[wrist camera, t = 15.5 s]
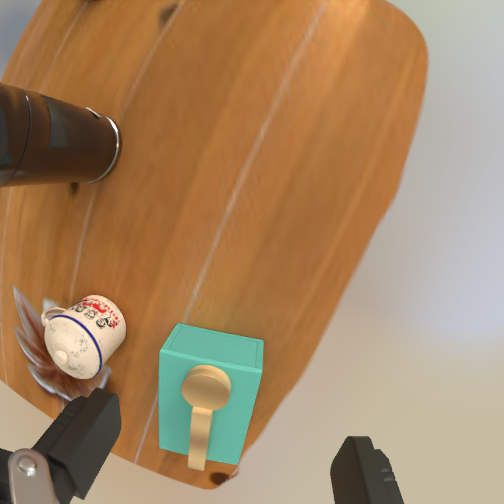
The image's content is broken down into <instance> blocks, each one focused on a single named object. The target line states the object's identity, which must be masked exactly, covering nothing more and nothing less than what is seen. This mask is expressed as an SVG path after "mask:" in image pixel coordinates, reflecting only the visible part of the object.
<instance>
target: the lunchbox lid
mask: <svg viewBox="0 0 504 504" xmlns="http://www.w3.org/2000/svg"><path fill="white" fill-rule="evenodd" d="M198 365H211V366H214V367H217V368H219V369H221V370H222V371H224V372H225V373H226V374H227V376H228V377H229V379H230V381H231V386H232V387H231V393H230V398H229V401H228V403H227V404H226V405H225V406H224V407H223V408H221V409H219V410H215V411H214V412H213V419H212V426H211V432H210V439H209V446H208V453H207V460H212V461H218V462H223V463H229V464H235V465H238V462H239V458H240V455H241V451H242V448H243V444H244V440H245V437H246V433H247V429H248V426H249V422H250V418H251V415H252V411H253V407H254V403H255V399H256V395H257V391H258V388H259V384H260V380H261V376H262V369H259V368H253V367H247V366H241V365H236V364H231V363H225V362H220V361H215V360H211V359H206V358H201V357H197V356H192V355H188V354H184V353H180V352H175V351H171V350H167V349H164V348H161V350H160V353H159V448H162V449H166V450H169V451H173V452H177V453H181V454H185V455H189V442H190V428H191V416H192V410H193V406H192V405H190V404H189V403H188V402H187V401H186V400H185V399H184V397H183V395H182V392H181V385H182V383H183V380H184V378H185V376H186V373H187V372H188V371H189V370H190V369H191V368H193V367H195V366H198Z"/></svg>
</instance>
